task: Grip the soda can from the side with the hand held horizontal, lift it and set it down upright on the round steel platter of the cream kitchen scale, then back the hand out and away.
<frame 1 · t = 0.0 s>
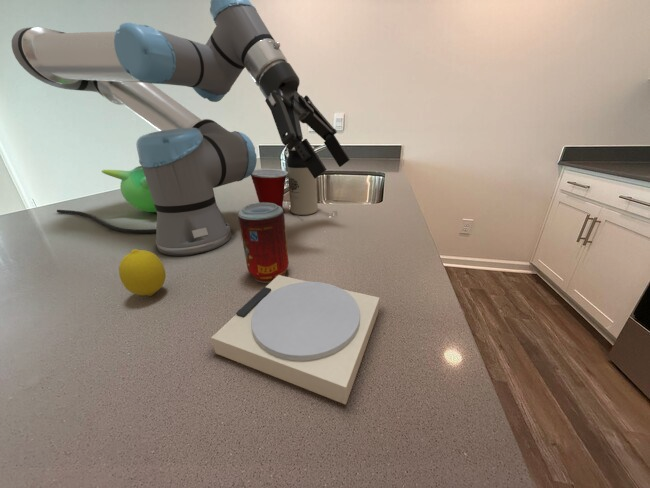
hand: (334, 168, 53), 15 cm above the counter, tool tilted 35°, fingers open, 13 cm apart
lemon: (152, 296, 41), on the counter
travel mug: (304, 211, 77), on the counter
toy bird: (161, 211, 80), on the counter
plastic cup: (273, 212, 77), on the counter, touching arm
kitchen scale: (304, 331, 33), on the counter
soda can: (269, 274, 45), on the counter
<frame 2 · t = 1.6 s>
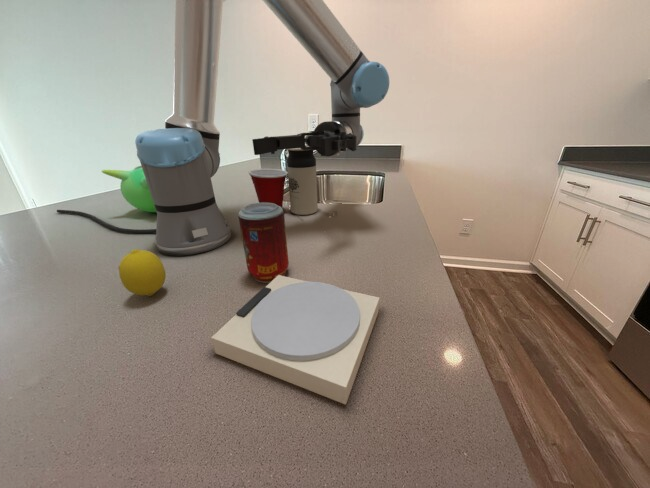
hand: (286, 147, 45), 20 cm above the counter, tool horizontal, fingers open, 13 cm apart
plastic cup: (273, 212, 77), on the counter
everything else where it was.
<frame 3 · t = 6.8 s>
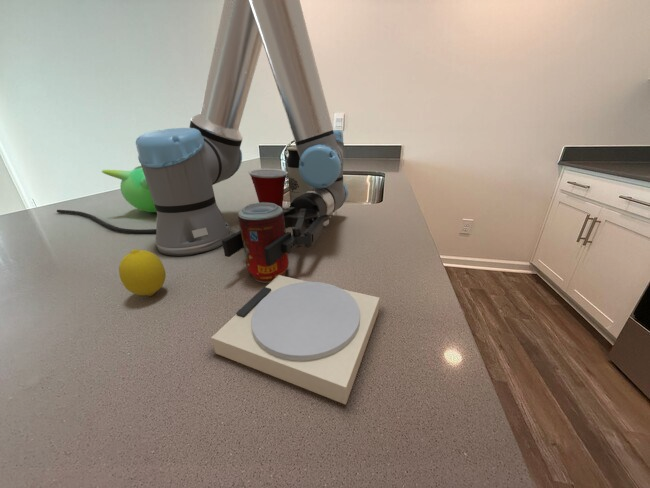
hand: (245, 252, 38), 7 cm above the counter, tool horizontal, fingers closed on soda can, 7 cm apart
soda can: (269, 274, 45), on the counter, touching gripper
everything else where it was.
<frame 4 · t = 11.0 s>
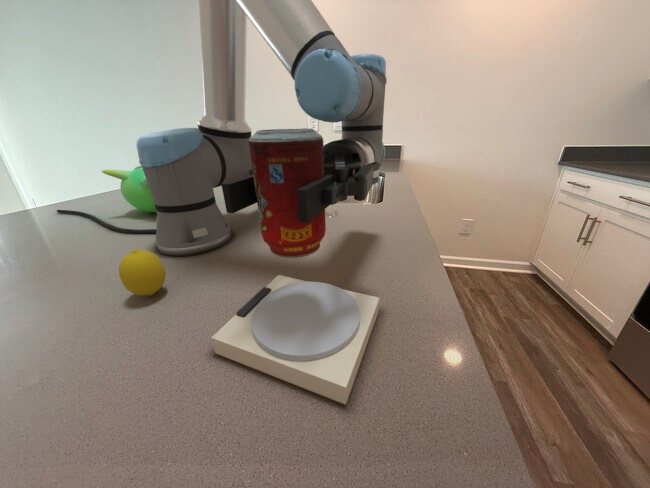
hand: (262, 202, 22), 18 cm above the counter, tool horizontal, fingers closed on soda can, 7 cm apart
travel mug: (304, 211, 77), on the counter, touching plastic cup
plastic cup: (273, 212, 77), on the counter, touching arm, travel mug
soda can: (295, 248, 29), point 11 cm above the counter, touching gripper
everything else where it was.
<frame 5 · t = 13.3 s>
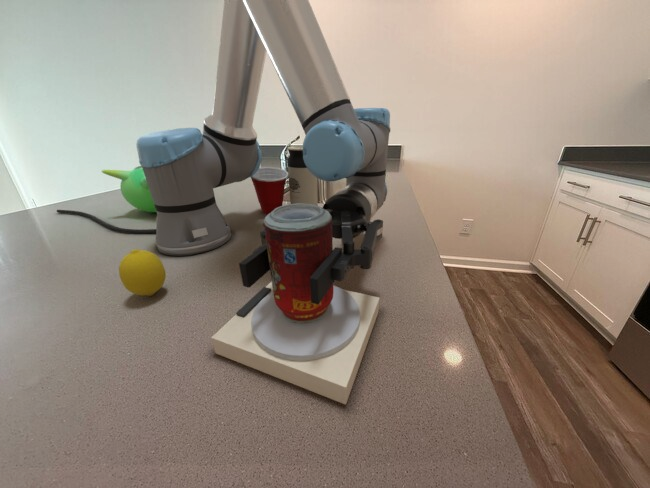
hand: (277, 283, 24), 10 cm above the counter, tool horizontal, fingers closed on soda can, 7 cm apart
soda can: (305, 307, 31), point 4 cm above the counter, touching gripper
when the fingers open (10 cm above the counter, at t = 13.8 s): soda can stays where it is, resting on kitchen scale.
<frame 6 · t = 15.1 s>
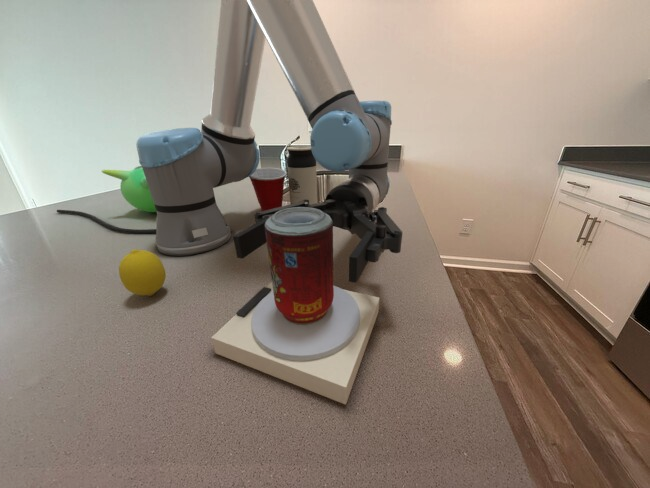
hand: (289, 258, 27), 11 cm above the counter, tool horizontal, fingers open, 13 cm apart
travel mug: (304, 211, 77), on the counter
plastic cup: (272, 211, 78), on the counter, touching arm
soda can: (305, 310, 32), point 3 cm above the counter, touching kitchen scale
everything else where it was.
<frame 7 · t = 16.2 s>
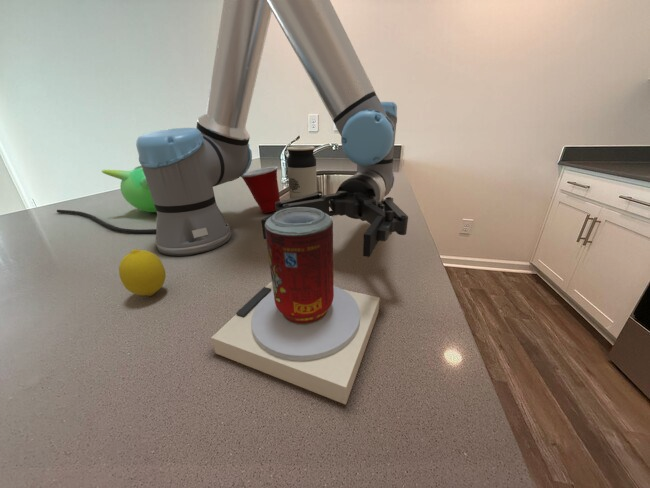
hand: (311, 237, 31), 11 cm above the counter, tool horizontal, fingers open, 13 cm apart
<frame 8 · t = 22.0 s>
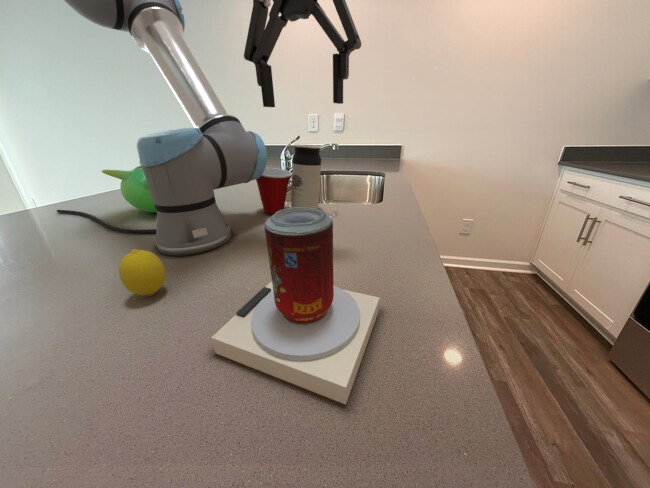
hand: (301, 105, 45), 27 cm above the counter, tool pointing down, fingers open, 13 cm apart
travel mug: (304, 210, 77), on the counter, touching plastic cup
plastic cup: (274, 211, 77), on the counter, touching arm, travel mug
everything else where it was.
at the end: soda can inside the target area on the kitchen scale (0.4 cm from its centre), point 3.1 cm above the kitchen scale's base; soda can tilted 0°; the gripper is holding nothing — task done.
